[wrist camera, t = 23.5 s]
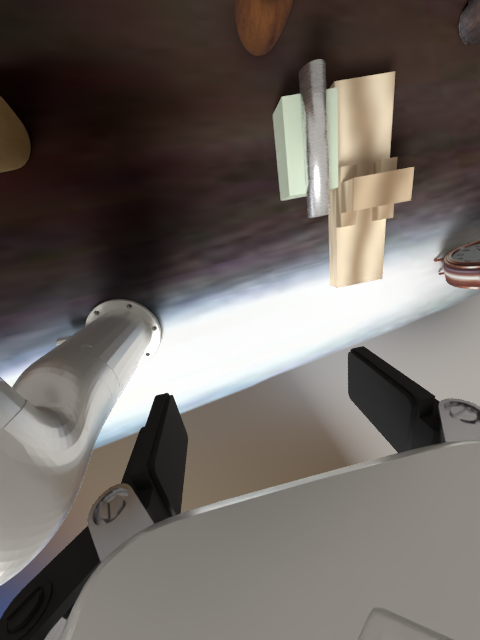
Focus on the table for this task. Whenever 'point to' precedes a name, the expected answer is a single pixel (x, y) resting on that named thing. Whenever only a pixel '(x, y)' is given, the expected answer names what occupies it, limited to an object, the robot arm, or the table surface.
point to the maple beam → (364, 179)
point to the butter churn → (470, 23)
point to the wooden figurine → (261, 23)
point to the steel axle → (315, 136)
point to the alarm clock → (463, 266)
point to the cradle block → (301, 144)
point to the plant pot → (12, 140)
